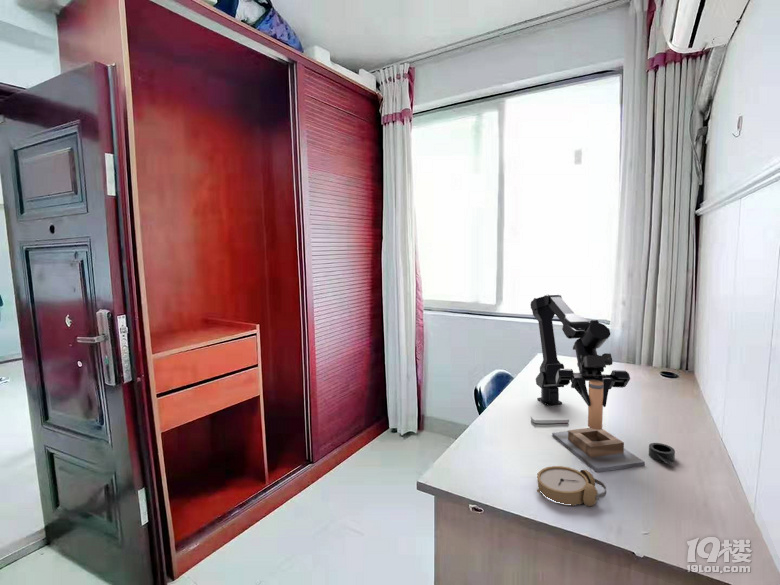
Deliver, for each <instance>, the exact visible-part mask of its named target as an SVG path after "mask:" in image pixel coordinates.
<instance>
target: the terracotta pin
mask: <svg viewBox="0 0 780 585" xmlns="http://www.w3.org/2000/svg"><path fill="white" fill-rule="evenodd" d="M603 388H604V384H603V382H602V381H598V380H590V381H588V395H589V399H590V406H588V405H587V407H588V408H587V413H588V414H587V426H588V427H587V428H592V429H603V414H604V413H603V410H604V407H603Z"/></svg>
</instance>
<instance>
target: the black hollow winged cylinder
mask: <svg viewBox="0 0 780 585" xmlns="http://www.w3.org/2000/svg"><path fill="white" fill-rule="evenodd" d="M675 453H676V450H675V448H673V447H672V446H670V445H668V444H664V443H661V442H652V443H649V444H648V456H649V458H650V459H652V460H654V461H656V462H658V463H664V464H667V465H670V466H674V462H675V456H676V455H675Z"/></svg>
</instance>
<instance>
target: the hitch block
mask: <svg viewBox="0 0 780 585" xmlns="http://www.w3.org/2000/svg"><path fill="white" fill-rule="evenodd" d="M551 436H552V437H553V438H554V439H555V440H557V442H559V443H560V444H561V445H563V446H564V447H565V448H566V449H568V450H569V451H570V452H571V453H573V454H574V455H575V456H576V457H578V459H580V460H581V461H583V462H584V463H585V464H586V465H587V466H589V467H590V468H591V469H592V470H593V471H595V472H596V473H600V472H606V471H608V472H609V471H615V470H621V469H627V468H628V469H629V468H634V467H635V468H636V467H643V466H645V463H646V462H645V461H644V460H643V459H641V458H639V457H638V456H637V455H635V454H633V453H632V452H631V451H629V450H627V449H626V448H625V442H623V441H622V440H621V439H619V438H618V437H616V436H614V435H612V434H611V433H610V432H608V431H607V430H605V429H603V428H602V429H592V428H590V427H585V428H576V429H569V430H565V431H556V432H552V433H551Z"/></svg>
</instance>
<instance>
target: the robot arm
mask: <svg viewBox="0 0 780 585" xmlns="http://www.w3.org/2000/svg"><path fill="white" fill-rule="evenodd" d="M530 309H531V311H532V312H531V313H532V316H533V317H534V318H535V319H536V321H537V322H538V328H539V335H540V336H539V337H540V343H541V345H540V346H541V352H542V362H541V364H540V366H539V373H538V375H537V376H536V378H535V382H536V385H537V386H538V387H539V388H540V389H541V391H540V392H541V393H540V394H541V395H540V397H537V401H540V402H541V403H542V404H543V405H545V406H555V405H562V404H563V401H561V400H560V398H559V395H560V393H559V388H564V387H565V386H568V385H569V384H570V383H571V385H570V388H571V389H575V391H577V393H578V394H579V395H580V397H581V399H583V401H584V403H586V405H587V407H588V406H590V399H589V391H588V389H587V385H586V381H587V382H589V381H590V380H598V381H602V382H603V384H604V388H603V408H606V406H607V401H608V394H609V391H610V390H611V389H612V388H626V386H627V385H628V384H629V382H630V380H631V376H630V373H629V372H628V371H626V370H619V369H617V370H615V369H613V370H612V371H611V373H610V374H602V373H604V372H605V369H606V368H607V366H612V365H613V358H612V354H611V353H605V352H604V353H603V354H602V355H600V354H598V352H597V349H600V348H601V347H602V346H603V345H604V344H605V342H606V341H607V340H608V339H609V338H610V337H611V330H610V328H609V327H607V326H606V325H605V324H603V323H601V322H600V321H599V319H590V321H589V320H588V319H586V318H585V317H583V316H581V315H578V314H576V313H575V312H574V310H572V309H571V308H570V306H569V305H568V304H567V303H566V302H565V301H564V300H563V297H562V295H561V294H559V293H548V294H544V296H540V297H534V298H533V300H531V301H530ZM555 316H556V317H557V318H558V320H559V321H560V322H561V324H562V328H561V329H562V333H563V334H564V335H565V337H566V338H567V339H568V340H570V339H571V340H572V339H576V340H575V342H574V343H573V346H572V350H574V351H575V355H576V356H575V357H576V361H577V367H578V372H574V370H573V369H572V368H565V366H564V364H563V363H561V362H560V361H559V359H558V355H557V354H558V353H557V347H556V340H555V332H554V331H555V330H554V326H553V319H554V317H555Z"/></svg>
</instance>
